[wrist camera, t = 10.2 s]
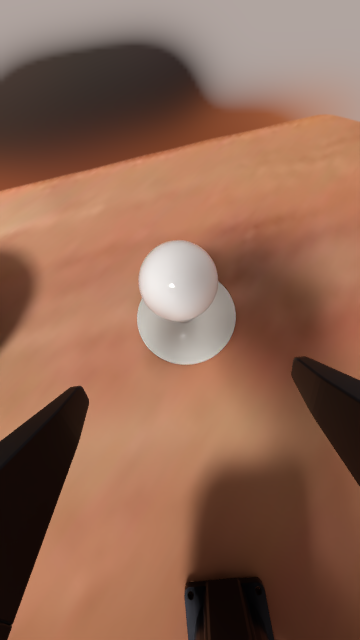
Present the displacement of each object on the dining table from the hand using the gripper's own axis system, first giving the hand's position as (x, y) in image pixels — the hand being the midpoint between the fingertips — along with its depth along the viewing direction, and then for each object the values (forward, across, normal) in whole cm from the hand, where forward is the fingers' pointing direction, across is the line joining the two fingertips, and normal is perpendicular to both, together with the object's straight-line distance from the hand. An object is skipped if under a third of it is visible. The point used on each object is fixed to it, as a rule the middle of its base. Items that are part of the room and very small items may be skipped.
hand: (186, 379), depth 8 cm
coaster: (+15, 0, +4) cm, 16 cm away
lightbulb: (+15, 0, +4) cm, 15 cm away
